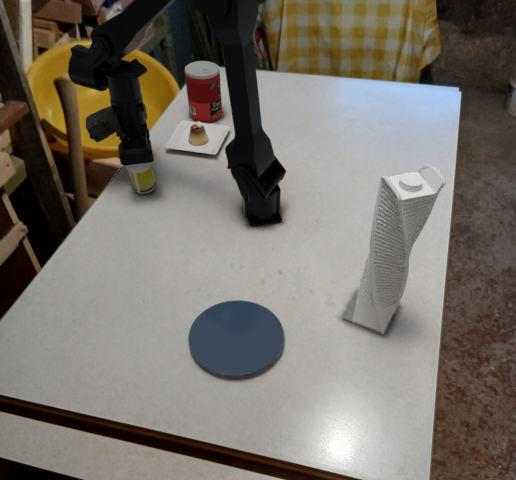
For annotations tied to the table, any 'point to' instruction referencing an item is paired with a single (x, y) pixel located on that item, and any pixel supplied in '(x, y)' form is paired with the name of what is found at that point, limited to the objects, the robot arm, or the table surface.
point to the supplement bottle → (141, 177)
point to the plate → (236, 339)
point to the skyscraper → (392, 247)
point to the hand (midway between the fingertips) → (141, 169)
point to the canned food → (203, 91)
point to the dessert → (197, 137)
